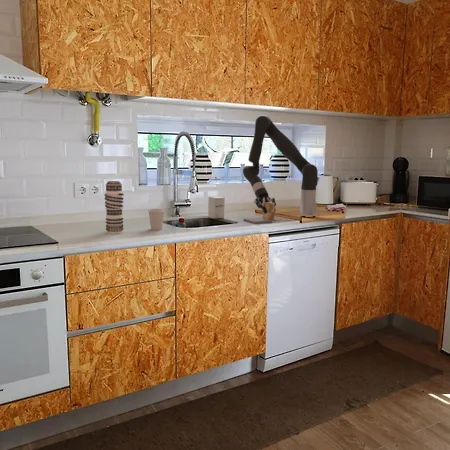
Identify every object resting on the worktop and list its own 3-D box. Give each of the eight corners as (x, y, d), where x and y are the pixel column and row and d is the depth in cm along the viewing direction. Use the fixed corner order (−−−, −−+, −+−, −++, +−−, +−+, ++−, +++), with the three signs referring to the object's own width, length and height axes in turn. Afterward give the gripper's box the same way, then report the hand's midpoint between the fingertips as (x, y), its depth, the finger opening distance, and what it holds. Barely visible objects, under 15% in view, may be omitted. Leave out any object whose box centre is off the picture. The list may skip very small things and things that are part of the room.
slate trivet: (260, 219, 280) (261, 217, 280) (272, 222, 269) (272, 220, 269) (243, 220, 274) (243, 218, 274) (254, 223, 264) (254, 221, 263)
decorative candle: (119, 230, 235) (118, 180, 232) (127, 232, 228) (126, 181, 224) (102, 231, 230) (101, 180, 226) (109, 234, 223) (108, 182, 219)
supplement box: (214, 218, 280) (214, 197, 278) (207, 217, 286) (208, 196, 284) (224, 217, 285) (224, 197, 283) (217, 216, 291) (217, 196, 289)
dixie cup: (145, 228, 240) (144, 209, 238) (157, 227, 246) (157, 208, 245) (155, 231, 234) (155, 211, 233) (168, 229, 241) (167, 209, 239)
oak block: (269, 218, 287) (270, 202, 285) (274, 219, 282) (274, 202, 281) (262, 218, 284) (263, 202, 283) (267, 219, 280) (267, 203, 279)
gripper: (252, 187, 284) (262, 209, 275) (272, 186, 290) (282, 208, 282) (247, 195, 289) (257, 216, 281) (267, 194, 296) (277, 215, 287)
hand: (270, 212), depth 281 cm, fingers open, 5 cm apart
